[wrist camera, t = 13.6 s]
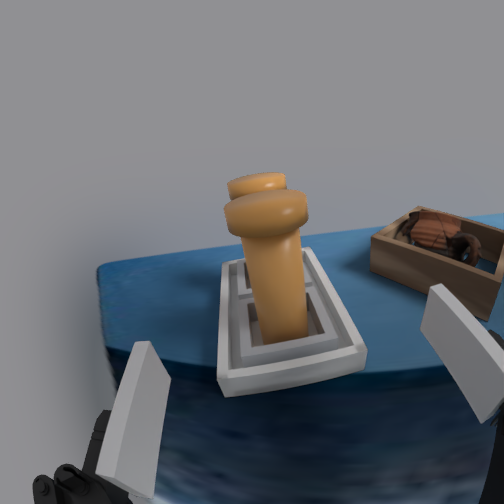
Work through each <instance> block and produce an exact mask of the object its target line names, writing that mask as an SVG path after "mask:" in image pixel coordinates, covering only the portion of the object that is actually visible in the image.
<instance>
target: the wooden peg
mask: <svg viewBox="0 0 504 504" xmlns="http://www.w3.org/2000/svg"><path fill="white" fill-rule="evenodd" d="M224 213H225V217H226V222H227V226H228V230H229V232H230V233H231V234H233V235H235V236H239V237H241V241H242V246H243V251H244V255H245V260H246V265H247V270H248V274H249V279H250V284H251V289H252V293H253V298H254V303H255V307H256V312H257V317H258V321H259V326H260V331H261V335H262V340H263V344H264V345H269V344H275V343H280V342H285V341H290V340H295V339H300V338H305V337H309V333H308V318H307V304H306V292H305V280H304V270H303V259H302V250H301V240H300V231H299V227H301V226H303V225H304V224H305V223H306V222H307V220H308V209H307V199H306V195H305V194H304V193H303V192H300V191H296V190H286V189H280V190H268V191H261V192H256V193H252V194H248V195H245V196H242V197H239V198H236V199H234V200H232V201H230V202H229V203H228V204H226V205H225V207H224Z"/></svg>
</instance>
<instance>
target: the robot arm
mask: <svg viewBox="0 0 504 504" xmlns="http://www.w3.org/2000/svg"><path fill="white" fill-rule="evenodd" d="M420 331H421V332H422V333H423V335H424V336H425V337H426V339H427V340H428V342H429V343H430V344H431V346H432V347H433V349H434V350H435V351H436V353H437V354H438V356H439V357H440V359H441V360H442V362H443V363H444V365H445V366H446V368H447V369H448V371H449V372H450V374H451V375H452V377H453V378H454V380H455V381H456V383H457V384H458V386H459V388H460V389H461V391H462V392H463V394H464V396H465V397H466V399H467V401H468V402H469V404H470V406H471V407H472V409H473V411H474V412H475V414H476V416H477V418H478V419H479V421H480V423H481V424H482V423H483V422H484V421H486V420H487V419H489V418H490V417H491V416H493V415H494V413H495V412H496V411H497V410H498V409H500V410H501V411H500V412H499V414H498V415H497V416H496V417H495V418H494V419H493V421H492V422H491V426H493V425H494V424H495V423H496V421H497V420H498V422H497V423H496V425H495V426H496V427H497V430H496V437H495V443H494V448H493V453H492V458H491V462H490V467H489V471H488V475H487V478H486V482H485V485H484V489H483V492H482V495H481V498H480V501H479V504H504V340H503V339H502V338H501V337H500V335H498V334H497V333H495V332H494V331H492V330H489V331H487V330H486V329H485V328H484V327H483V326H482V325H481V324H480V323H479V322H478V320H477V319H476V318H475V317H474V316H473V315H472V314H471V313H470V312H469V311H468V310H467V309H466V308H465V307H464V306H463V304H462V303H461V302H460V301H459V300H458V299H457V298H456V297H455V296H454V295H453V294H452V293H451V292H450V291H449V290H448V289H447V288H446V287H445V286H444V285H443V284H442V283H441V284H437V285H434V286H431V287H430V289H429V294H428V298H427V303H426V307H425V311H424V315H423V319H422V323H421V327H420ZM170 382H171V378H170V376H169V375H168V373H167V371H166V369H165V368H164V366H163V364H162V362H161V361H160V359H159V357H158V355H157V353H156V351H155V350H154V348H153V346H152V344H151V342H150V341H140V342H135V344H134V346H133V349H132V352H131V355H130V357H129V360H128V363H127V366H126V369H125V372H124V375H123V378H122V381H121V384H120V387H119V390H118V393H117V396H116V399H115V402H114V406H113V409H112V411H110V410H109V411H108V410H103V412H102V413H101V414H100V416H99V417H98V418H97V421H96V423H95V427H94V432H93V433H92V436H91V440H90V444H89V447H88V451H87V454H86V458H85V462H84V465H83V468H82V471H81V470H79V469H78V468H76V467H74V466H73V465H71V464H64V465H61V466H60V467H58V468H57V470H56V471H55V474H54V480H53V479H51V478H49V477H48V476H46V475H39V476H37V477H36V478H35V479H34V482H33V496H34V502H35V504H133V503H132V501H131V500H130V499H129V498H128V494H129V493H130V494H132V495H134V496H136V497H142V498H148V499H153V497H154V487H155V479H156V470H157V463H158V455H159V448H160V441H161V434H162V428H163V422H164V416H165V410H166V404H167V398H168V392H169V387H170Z"/></svg>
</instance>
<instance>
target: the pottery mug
mask: <svg viewBox="0 0 504 504" xmlns="http://www.w3.org/2000/svg"><path fill="white" fill-rule="evenodd" d="M460 225H461V221H460V219H458V218H457V217H455V216H452V215H449V214H445V213H440V212H432V211H414V212H410V213H409V221H408V222H407V223H406V224H405V225H404V226H403V228H402V230H401V233H402V234H403V235H402V236H405V235H406V234H408V233H411V238H412V240H413V241H415V243H414V246H416V247H419V248H422V249H425V250H428V251H431V252H433V253H436V254H439V255H442V256H445V257H448V258H451V259H453V260H456V261H459V262H462V263H464V264H467V265H470V266H472V267H475V266H476V264H477V263H478V261H479V259H480V258H481V244H480V242H479V240H478V239H477V238H476V237H475V236H473V235H472V234H469V233H462V231H461V230H460ZM469 246H470V253H469V255H468V257H467V258H466V259H465V260H464V255H465V251H466V249H467V247H469Z"/></svg>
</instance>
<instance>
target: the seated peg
mask: <svg viewBox="0 0 504 504" xmlns="http://www.w3.org/2000/svg"><path fill="white" fill-rule="evenodd" d="M227 185H228V191H229V196H230V199H231V200H234V199H236V198H239V197H242V196H245V195H248V194H252V193H256V192H261V191H268V190H280V189H286V190H287V187H286V180H285V174H283V173H276V172H271V173H259V174H253V175H247V176H243V177H240V178H237V179H234V180H232V181H230V182H228V183H227Z"/></svg>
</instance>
